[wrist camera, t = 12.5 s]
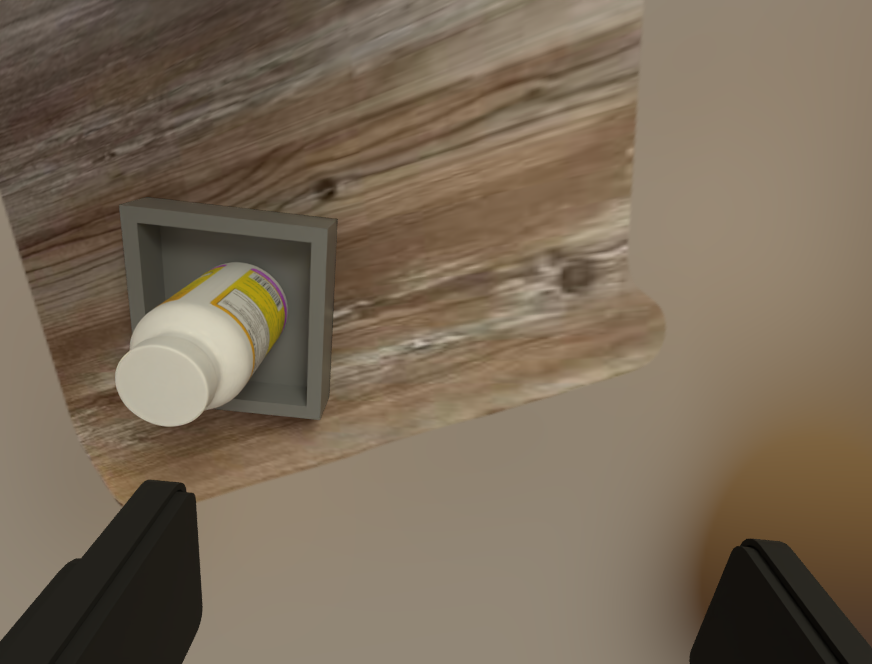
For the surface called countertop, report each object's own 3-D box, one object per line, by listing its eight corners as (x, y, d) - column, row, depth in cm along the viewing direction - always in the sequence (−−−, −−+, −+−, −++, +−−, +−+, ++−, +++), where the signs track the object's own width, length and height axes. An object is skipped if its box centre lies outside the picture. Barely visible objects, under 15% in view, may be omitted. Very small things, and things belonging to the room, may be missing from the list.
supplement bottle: (196, 336, 40) (92, 430, 28) (201, 250, 38) (90, 313, 26) (286, 354, 40) (222, 454, 29) (297, 271, 38) (231, 341, 26)
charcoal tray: (147, 197, 37) (119, 204, 34) (337, 219, 37) (327, 228, 34) (162, 379, 42) (139, 401, 39) (329, 396, 42) (320, 419, 39)
